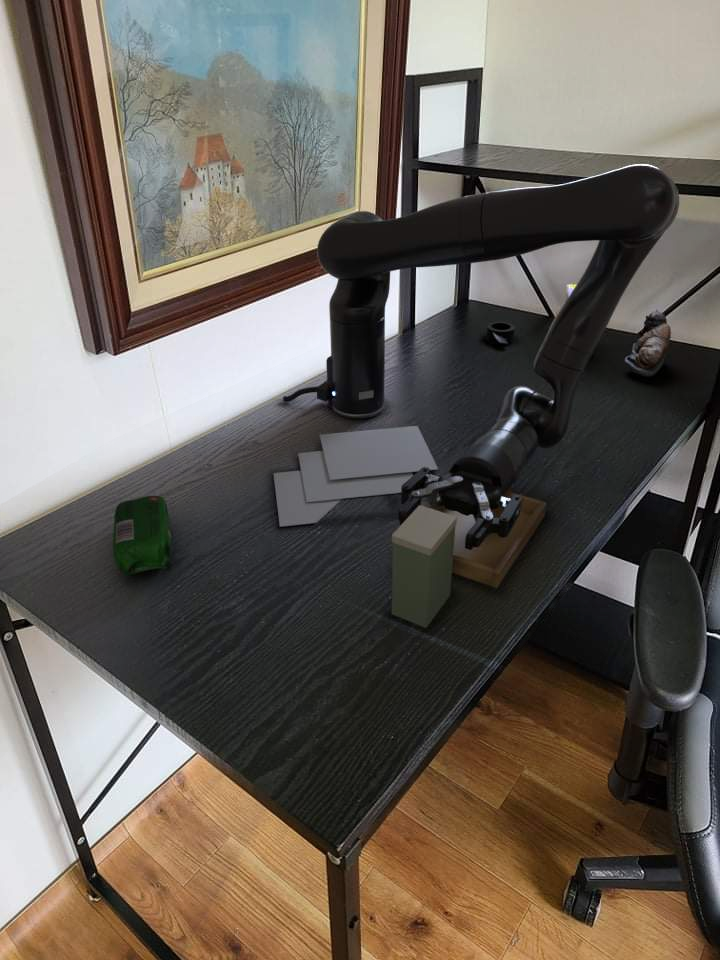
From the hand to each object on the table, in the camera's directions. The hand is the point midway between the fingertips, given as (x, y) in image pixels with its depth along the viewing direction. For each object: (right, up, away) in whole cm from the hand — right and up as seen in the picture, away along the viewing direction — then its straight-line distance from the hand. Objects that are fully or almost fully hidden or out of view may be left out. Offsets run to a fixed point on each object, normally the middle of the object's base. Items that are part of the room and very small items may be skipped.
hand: (434, 531), depth 85 cm
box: (+36, +33, +67) cm, 83 cm away
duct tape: (+21, +36, +71) cm, 83 cm away
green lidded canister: (-1, -9, +3) cm, 10 cm away
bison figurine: (+47, +28, +58) cm, 80 cm away
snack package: (-37, -4, +12) cm, 39 cm away
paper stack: (-9, +7, +27) cm, 30 cm away
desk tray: (+7, -1, +14) cm, 16 cm away
